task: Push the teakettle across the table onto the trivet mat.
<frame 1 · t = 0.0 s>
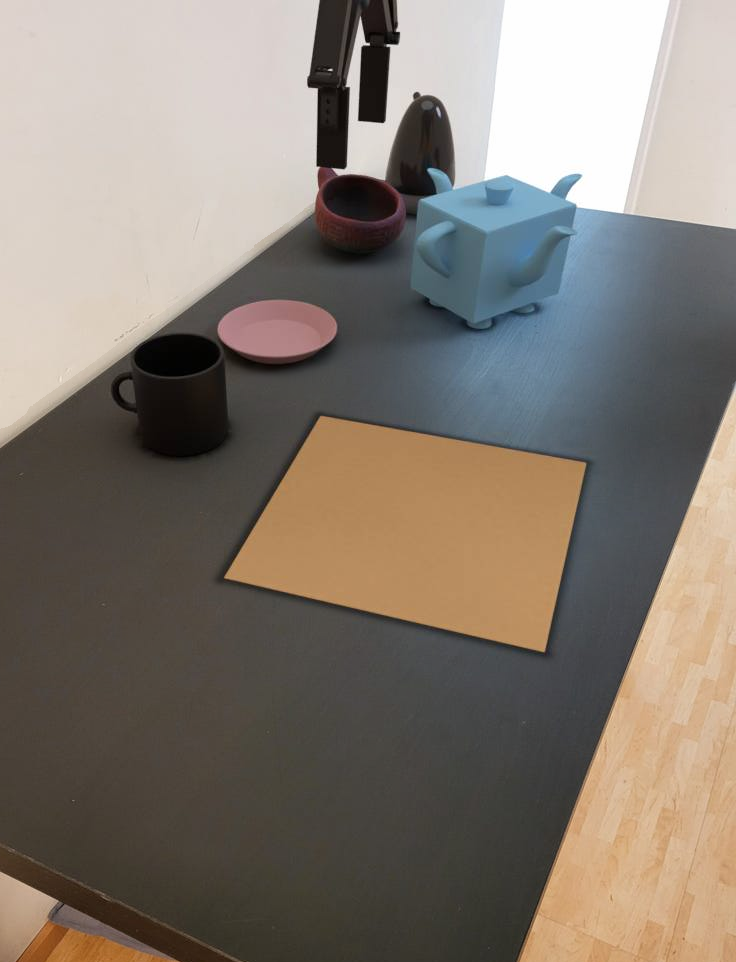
hand: (352, 143, 90), 24 cm above the table, tool pointing down, fingers open, 13 cm apart
teakettle: (487, 303, 119), on the table
mug: (172, 433, 100), on the table
trivet mat: (416, 516, 88), on the table
plate: (277, 343, 113), on the table
dark brown tall dome: (416, 208, 142), on the table
bowl: (348, 245, 133), on the table
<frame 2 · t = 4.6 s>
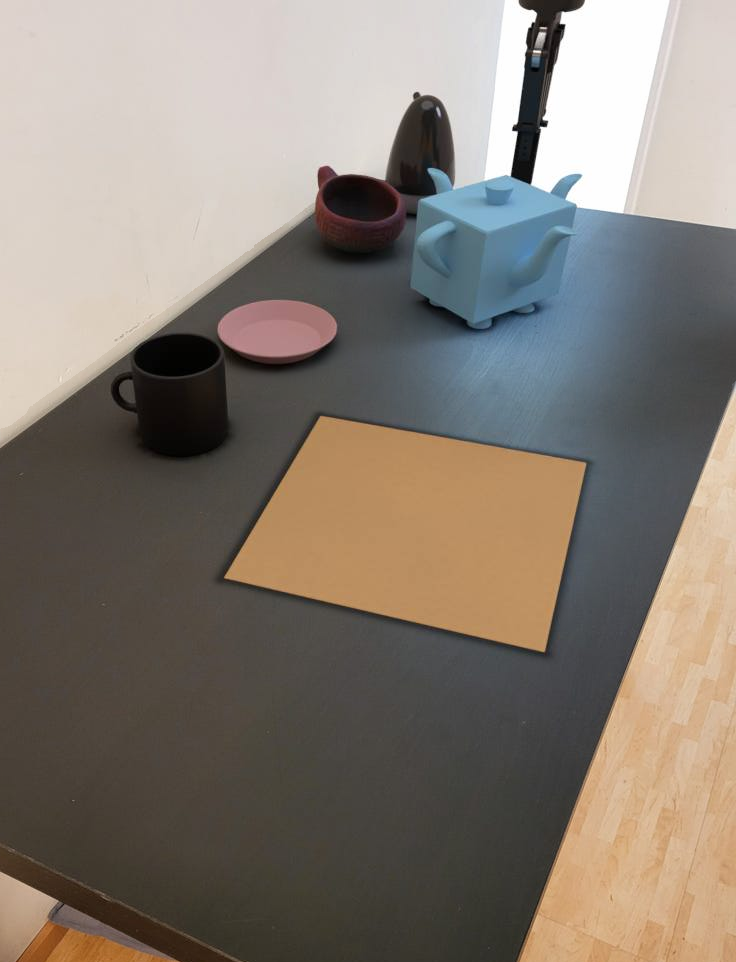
hand: (520, 183, 123), 9 cm above the table, tool pointing down, fingers closed
nothing on the table moved.
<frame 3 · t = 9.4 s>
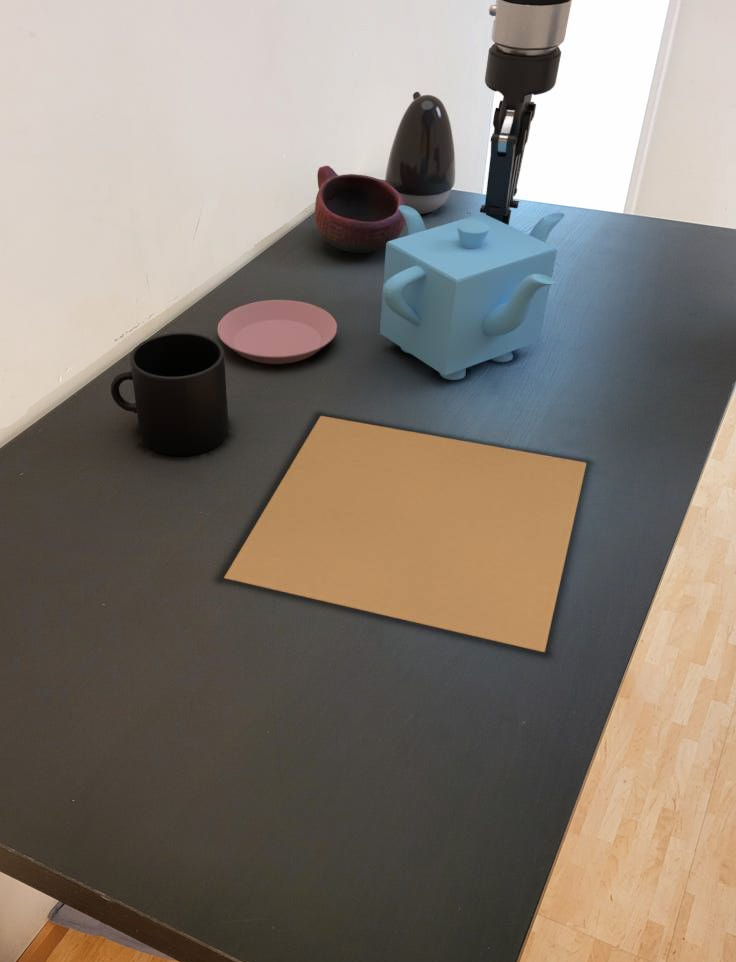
hand: (490, 264, 116), 5 cm above the table, tool pointing down, fingers closed
teakettle: (462, 350, 111), on the table, touching hand
everything else where it was.
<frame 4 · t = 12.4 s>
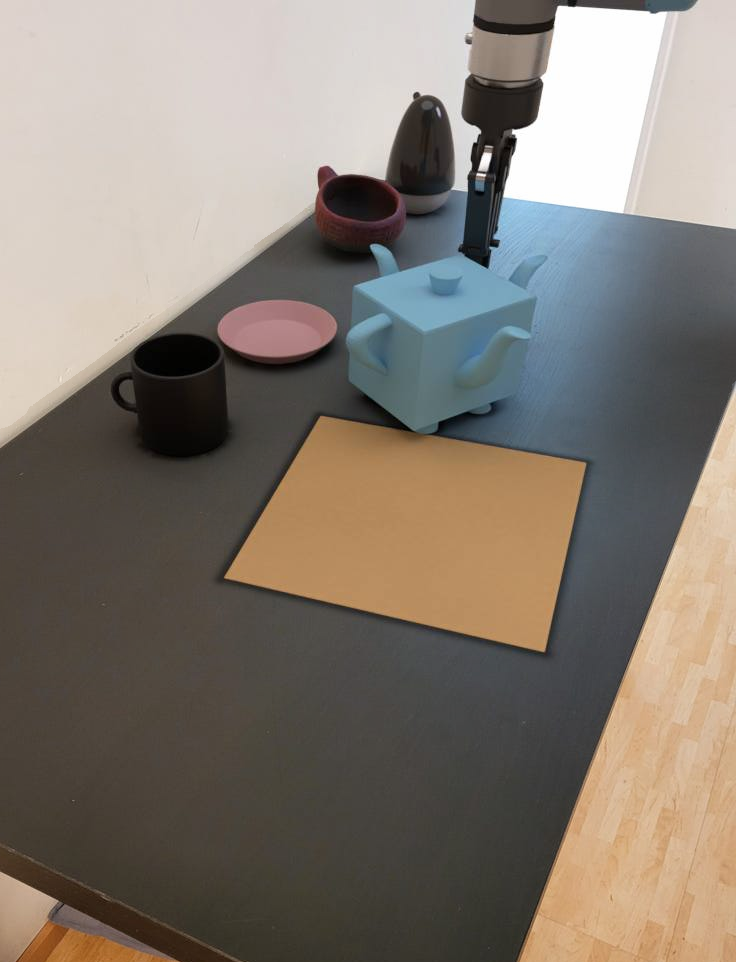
hand: (469, 305, 108), 5 cm above the table, tool pointing down, fingers closed
teakettle: (437, 400, 103), on the table, touching hand, trivet mat
everything else where it was.
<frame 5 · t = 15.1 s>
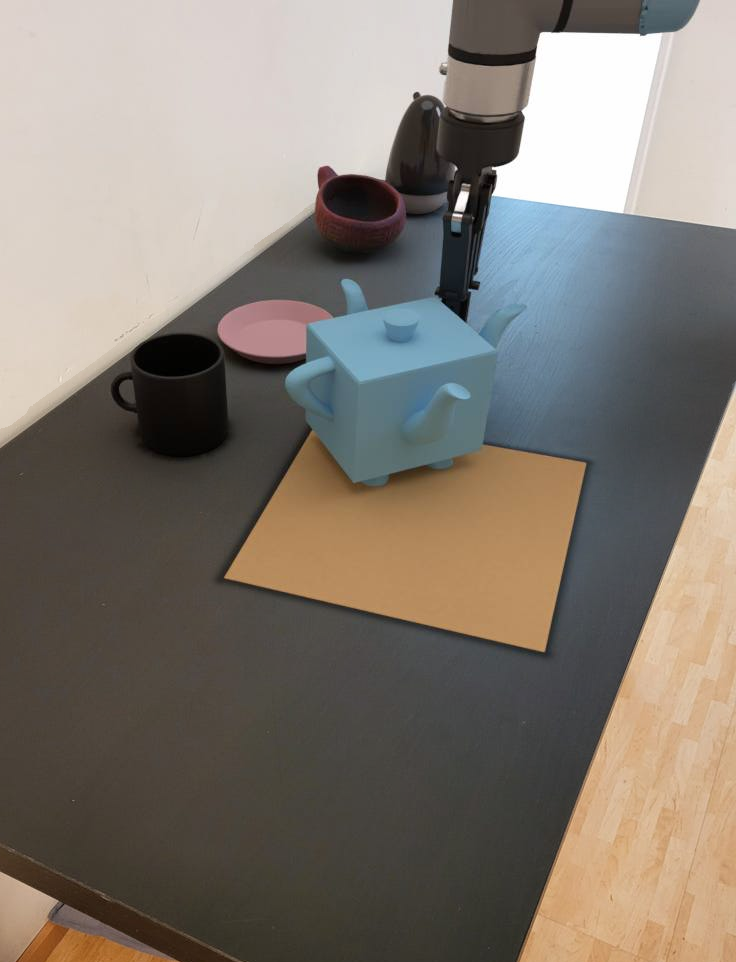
hand: (448, 350, 100), 5 cm above the table, tool pointing down, fingers closed
teakettle: (399, 449, 96), on the table, touching hand
everything else where it was.
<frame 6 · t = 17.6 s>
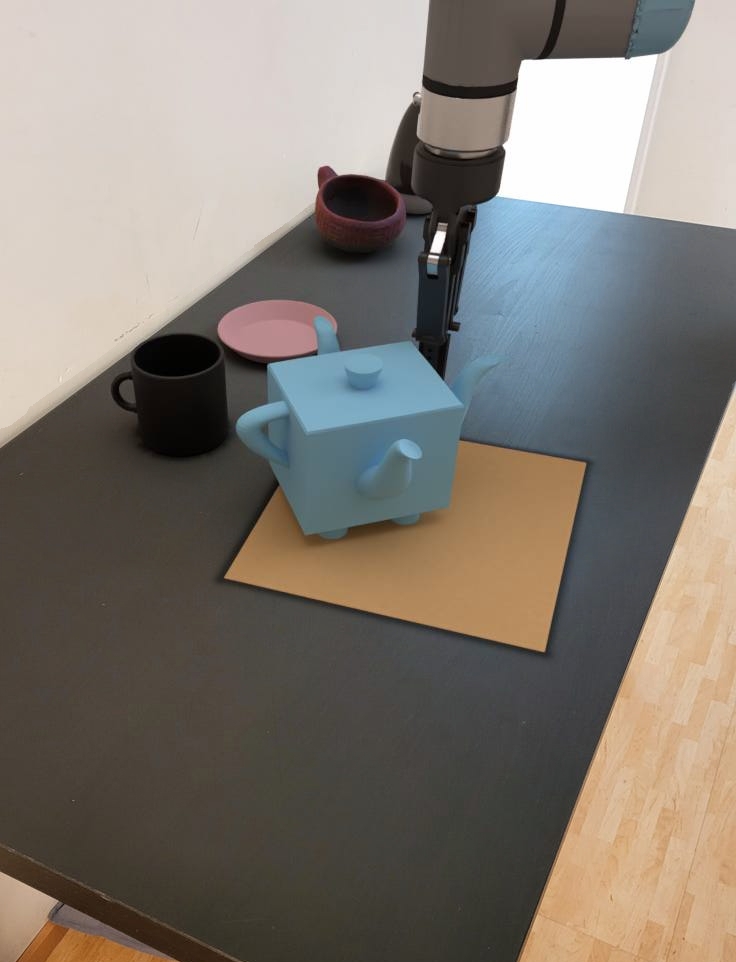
hand: (427, 394, 94), 5 cm above the table, tool pointing down, fingers closed
teakettle: (365, 499, 91), on the table, touching hand, trivet mat
everything else where it was.
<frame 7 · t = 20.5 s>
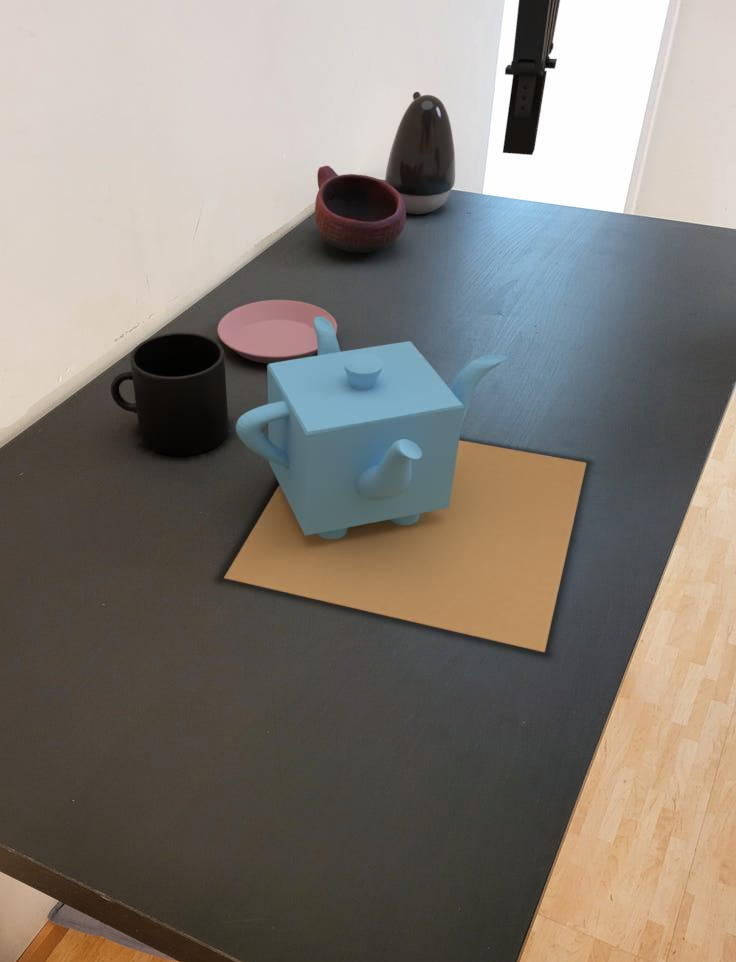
hand: (518, 150, 87), 24 cm above the table, tool pointing down, fingers closed
teakettle: (365, 500, 91), on the table, touching trivet mat
everything else where it was.
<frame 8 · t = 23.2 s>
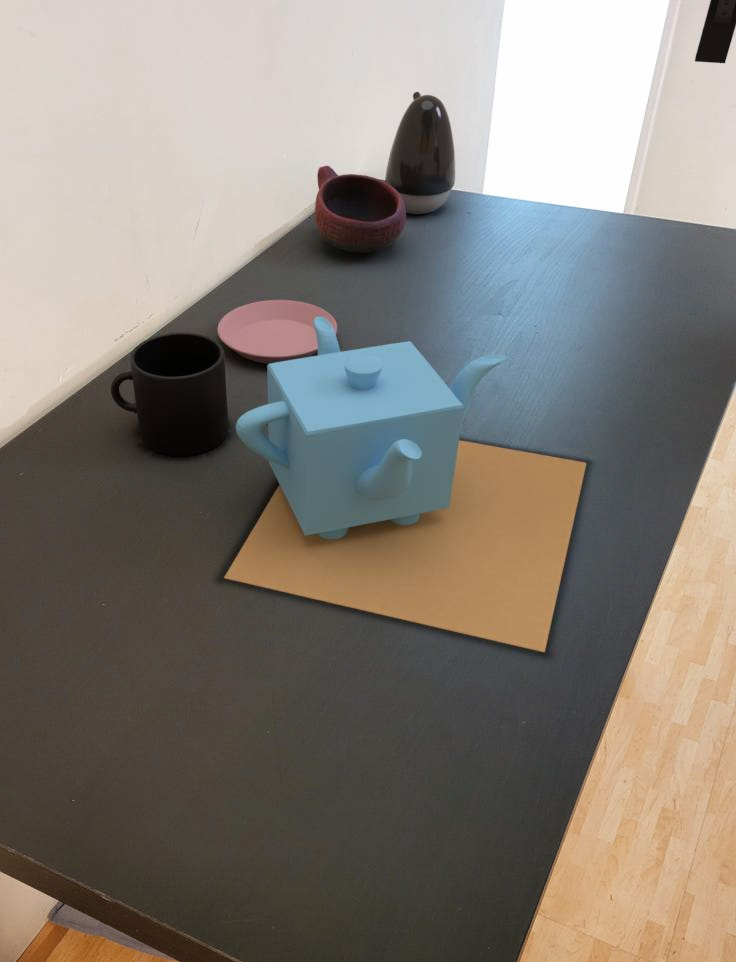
hand: (710, 60, 89), 29 cm above the table, tool pointing down, fingers closed
nothing on the table moved.
at the end: teakettle inside the target area on the trivet mat (5.4 cm from its centre), point 0.0 cm above the trivet mat's base; teakettle tilted 0°; teakettle moved 44.9 cm from its start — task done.
